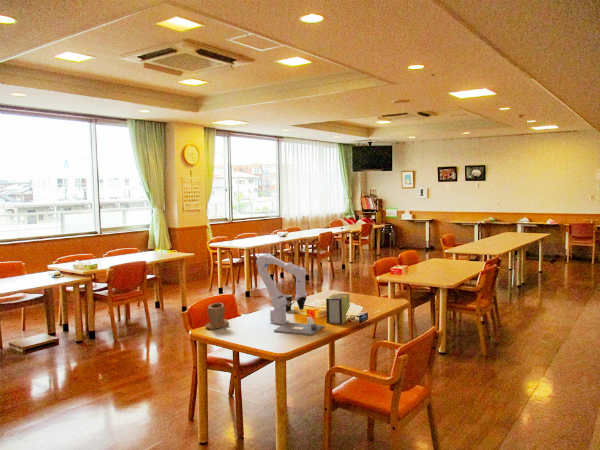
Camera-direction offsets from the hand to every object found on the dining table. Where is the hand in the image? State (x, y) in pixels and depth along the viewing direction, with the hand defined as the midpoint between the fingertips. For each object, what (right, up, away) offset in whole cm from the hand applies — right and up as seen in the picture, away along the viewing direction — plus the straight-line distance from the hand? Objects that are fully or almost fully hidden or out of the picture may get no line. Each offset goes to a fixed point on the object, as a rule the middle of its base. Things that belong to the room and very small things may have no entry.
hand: (301, 309), depth 308 cm
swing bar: (+6, -8, -8) cm, 13 cm away
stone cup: (-51, -11, 0) cm, 52 cm away
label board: (-2, -10, -10) cm, 15 cm away
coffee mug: (-9, -7, +37) cm, 39 cm away
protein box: (+23, -8, +7) cm, 26 cm away
